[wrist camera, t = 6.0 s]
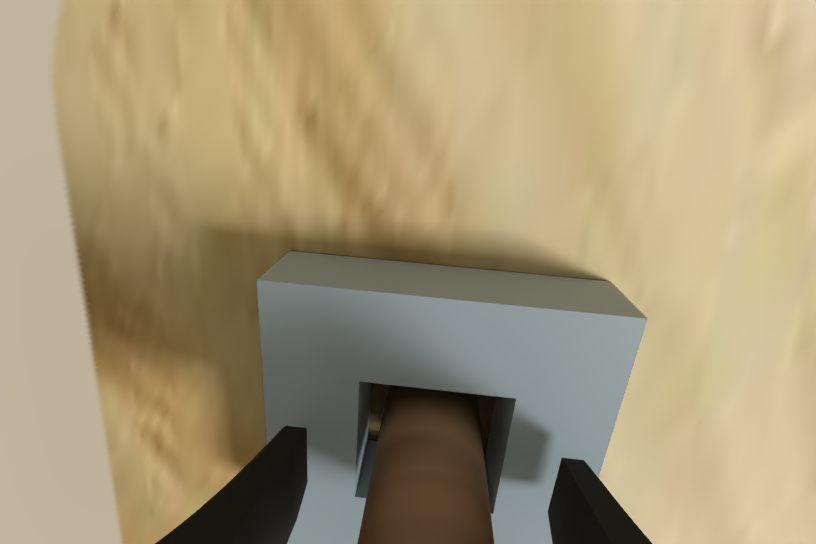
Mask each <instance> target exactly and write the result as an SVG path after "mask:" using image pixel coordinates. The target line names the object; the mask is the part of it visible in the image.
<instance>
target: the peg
mask: <svg viewBox="0 0 816 544" xmlns="http://www.w3.org/2000/svg"><path fill="white" fill-rule="evenodd" d="M357 544H494V536H493V528H492V519H491V511H490V503H489V494H488V486H487V478H486V470H485V461H484V453H483V445H482V436H481V428H480V420H479V411H478V403H477V395H476V394H469V393H460V392H451V391H442V390H433V389H424V388H415V387H405V386H396V385H389V388H388V391H387V396H386V401H385V406H384V411H383V417H382V422H381V427H380V432H379V437H378V442H377V447H376V452H375V457H374V462H373V467H372V472H371V477H370V482H369V487H368V492H367V497H366V502H365V508H364V513H363V518H362V523H361V528H360V533H359V538H358V543H357Z"/></svg>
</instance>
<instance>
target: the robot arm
mask: <svg viewBox="0 0 816 544" xmlns="http://www.w3.org/2000/svg"><path fill="white" fill-rule="evenodd" d="M307 483H308V477H307V428H302V427H293V426H285V427H283V428H282V429H281V430H280V431H279V432H278V433H277V434H276V435H275V437H274V438H273V439H272V440H271V441H270V442H269V443H268V444H267V445H266V446H265V447H264V448H263V449H262V450H261V451H260V452H259V453H258V454H257V455H256V456H255V457H254V458H253V459H252V460H251V461H250V462H249V463H248V464H247V465H246V466H245V467H244V468H243V469H242V470H241V471H240V472H239V473H238V474H237V475H236V476H235V477H234V478H233V479H232V480H231V481H230V482H229V483H228V484H227V485H226V486H225V487H223V488H222V489H221V490H220V491H219V492H218V493H217V494H216V495H214V496H213V497H212V498H211V499H210V500H209V501H208V502H207V503H205V504H204V505H203V506H202V507H201V508H200V509H199V510H197V511H196V512H195V513H194V514H193V515H191V516H190V517H189V518H188V519H187V520H185V521H184V522H183V523H182V524H180V525H179V526H178V527H176V528H175V529H174V530H173V531H171V532H170V533H169V534H167V535H166V536H165V537H164V538H162V539H161V540H160V541H158V542H157V543H155V544H287V542H288V540H289V537H290V535H291V533H292V530H293V528H294V525H295V523H296V520H297V517H298V514H299V510H300V507H301V504H302V500H303V497H304V493H305V490H306V486H307ZM548 517H549V524H550V530H551V536H552V542H553V544H652V543H651V542H650V541H649V539H648V538H647V537H646V536H645V535H644V534H643V532H642V531H641V530H640V529H639V528H638V526H637V525H636V524H635V523H634V522H633V520H632V519H631V518H630V517H629V516H628V514H627V513H626V512H625V511H624V510H623V508H622V507H621V506H620V505H619V503H618V502H617V501H616V500H615V498H614V497H613V496H612V495H611V493H610V492H609V491H608V490H607V488H606V487H605V486H604V485H603V483H602V482H601V481H600V479H599V478H598V477H597V476H596V474H595V473H594V472H593V471H592V469H591V468H590V467H589V466H588V464H587V463H586V462H585V461H584V460H579V459H570V458H562V459H561V462H560V466H559V470H558V474H557V478H556V481H555V485H554V489H553V493H552V497H551V500H550V504H549V508H548Z"/></svg>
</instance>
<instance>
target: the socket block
mask: <svg viewBox="0 0 816 544" xmlns="http://www.w3.org/2000/svg"><path fill="white" fill-rule="evenodd" d="M257 295H258V312H259V328H260V345H261V361H262V378H263V394H264V411H265V427H266V443H267V444H268V443H269V442H270V441H271V440H272V439H273V438H274V437H275V435H276V434H277V433H278V432H279V431H280V430H281V429H282V428H283V427H285V426H293V427H302V428H307V477H308V483H307V486H306V490H305V493H304V497H303V500H302V504H301V507H300V510H299V514H298V517H297V520H296V523H295V525H294V528H293V530H292V533H291V535H290V537H289V540H288V542H287V544H357V543H358V538H359V533H360V528H361V523H362V518H363V513H364V508H365V502H366V497H367V492H368V487H369V482H370V477H371V472H372V467H373V462H374V457H375V452H376V447H377V442H378V441H371V440H368V430H369V410H370V389H371V383H378V384H387V385H396V386H405V387H415V388H424V389H433V390H442V391H451V392H460V393H469V394H478V395H488V396H496V399H495V405H494V411H493V416H492V422H491V427H490V433H489V439H488V444H487V450H486V454H484V461H485V470H486V478H487V486H488V494H489V503H490V511H491V519H492V528H493V536H494V544H553V542H552V536H551V530H550V524H549V517H548V508H549V504H550V500H551V497H552V493H553V489H554V485H555V481H556V478H557V474H558V470H559V466H560V462H561V459H562V458H570V459H579V460H584V461H585V462H586V463H587V464H588V466H589V467H590V468H591V469H592V471H593V472H594V473H595V474H596V476H597V477H599V474H600V470H601V467H602V464H603V461H604V457H605V454H606V451H607V448H608V445H609V441H610V438H611V435H612V432H613V428H614V425H615V422H616V419H617V416H618V412H619V409H620V406H621V403H622V399H623V396H624V393H625V390H626V386H627V383H628V380H629V377H630V374H631V370H632V367H633V364H634V361H635V357H636V354H637V351H638V348H639V345H640V341H641V338H642V335H643V332H644V328H645V325H646V322H647V318H646V317H645V316H644V315H643V314H642V313H641V312H640V311H639V310H638V309H637V308H636V307H635V306H634V305H633V304H632V303H631V302H630V301H629V300H628V299H627V298H626V297H625V296H624V295H623V294H622V293H621V292H620V291H619V290H618V289H617V288H616V287H615V286H614V285H613V284H612V283H611V282H610V281H600V280H590V279H579V278H569V277H558V276H548V275H537V274H527V273H516V272H506V271H496V270H485V269H475V268H464V267H454V266H443V265H433V264H422V263H412V262H401V261H391V260H380V259H370V258H359V257H349V256H338V255H328V254H317V253H307V252H296V251H289V252H287V253H286V254H285V255H284V256H283V257H282V258H281V259H280V260H278V261H277V262H276V263H275V264H274V265H273V266H272V267H271V268H269V269H268V270H267V271H266V272H265V273H264V274H263V275H262V276H261V277H259V278H258V279H257Z"/></svg>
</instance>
